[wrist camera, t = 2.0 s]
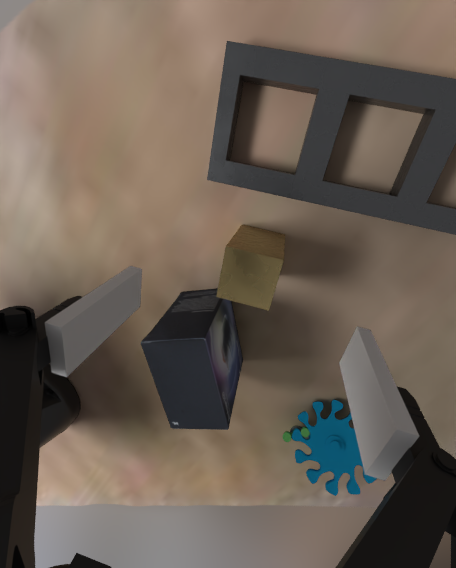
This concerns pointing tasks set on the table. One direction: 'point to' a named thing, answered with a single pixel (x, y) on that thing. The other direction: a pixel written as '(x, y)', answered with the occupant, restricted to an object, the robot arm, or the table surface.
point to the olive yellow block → (252, 267)
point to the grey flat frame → (325, 124)
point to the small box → (196, 360)
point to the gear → (329, 447)
